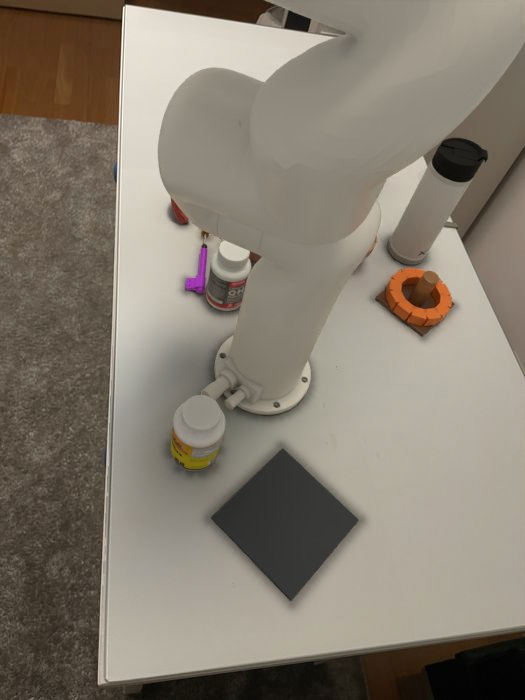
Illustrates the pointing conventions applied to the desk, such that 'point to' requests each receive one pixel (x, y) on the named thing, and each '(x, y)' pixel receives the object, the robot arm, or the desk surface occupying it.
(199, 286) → the purple and orange tool
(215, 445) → the supplement bottle
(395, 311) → the ring
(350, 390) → the desk surface
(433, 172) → the travel mug
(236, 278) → the pill bottle
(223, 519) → the mat
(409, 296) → the ring post
